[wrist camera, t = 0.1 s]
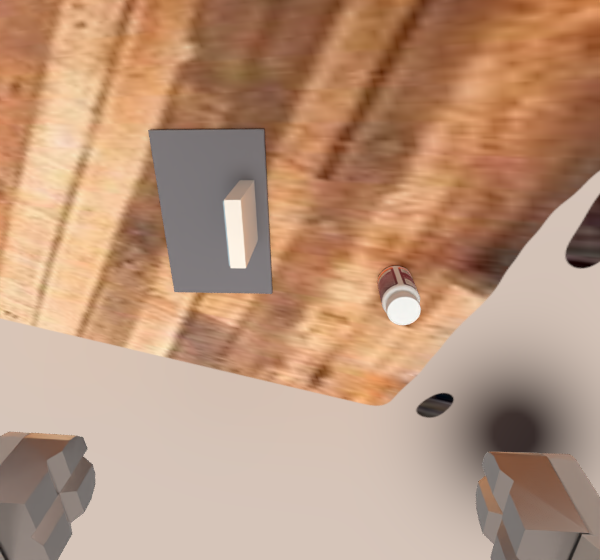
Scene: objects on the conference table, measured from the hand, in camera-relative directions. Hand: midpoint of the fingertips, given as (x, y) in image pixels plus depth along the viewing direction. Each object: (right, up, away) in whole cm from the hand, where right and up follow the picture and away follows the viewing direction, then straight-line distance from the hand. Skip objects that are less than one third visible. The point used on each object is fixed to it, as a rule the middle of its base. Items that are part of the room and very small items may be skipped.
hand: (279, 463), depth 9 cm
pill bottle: (+13, +4, +51) cm, 53 cm away
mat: (-11, +12, +48) cm, 51 cm away
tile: (-6, +13, +47) cm, 49 cm away
